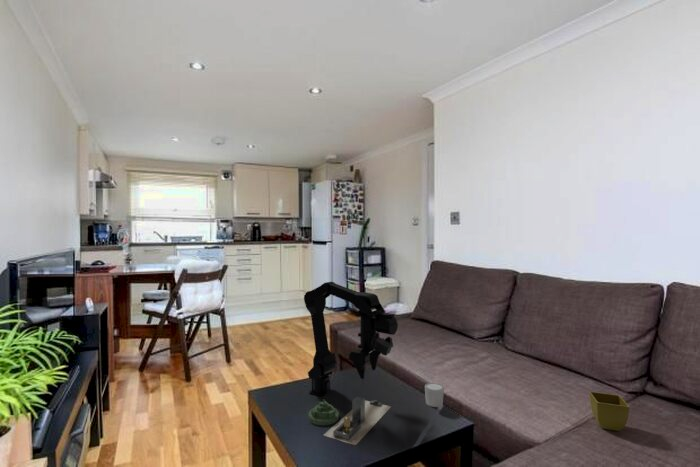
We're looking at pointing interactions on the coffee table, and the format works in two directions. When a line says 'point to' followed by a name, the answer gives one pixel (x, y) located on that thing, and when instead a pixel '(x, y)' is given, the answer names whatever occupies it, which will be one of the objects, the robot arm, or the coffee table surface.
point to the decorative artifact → (323, 414)
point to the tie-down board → (372, 416)
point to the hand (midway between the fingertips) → (368, 374)
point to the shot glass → (434, 395)
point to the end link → (353, 419)
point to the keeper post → (347, 425)
